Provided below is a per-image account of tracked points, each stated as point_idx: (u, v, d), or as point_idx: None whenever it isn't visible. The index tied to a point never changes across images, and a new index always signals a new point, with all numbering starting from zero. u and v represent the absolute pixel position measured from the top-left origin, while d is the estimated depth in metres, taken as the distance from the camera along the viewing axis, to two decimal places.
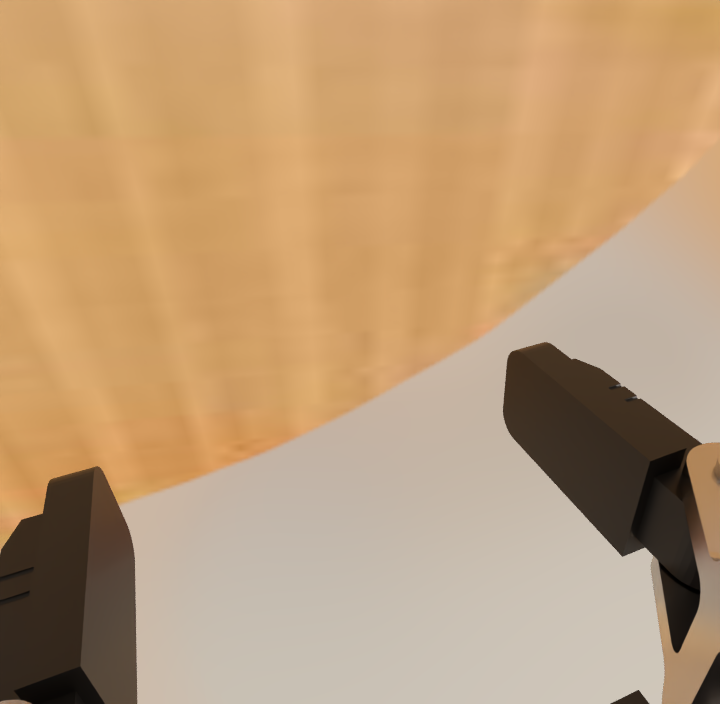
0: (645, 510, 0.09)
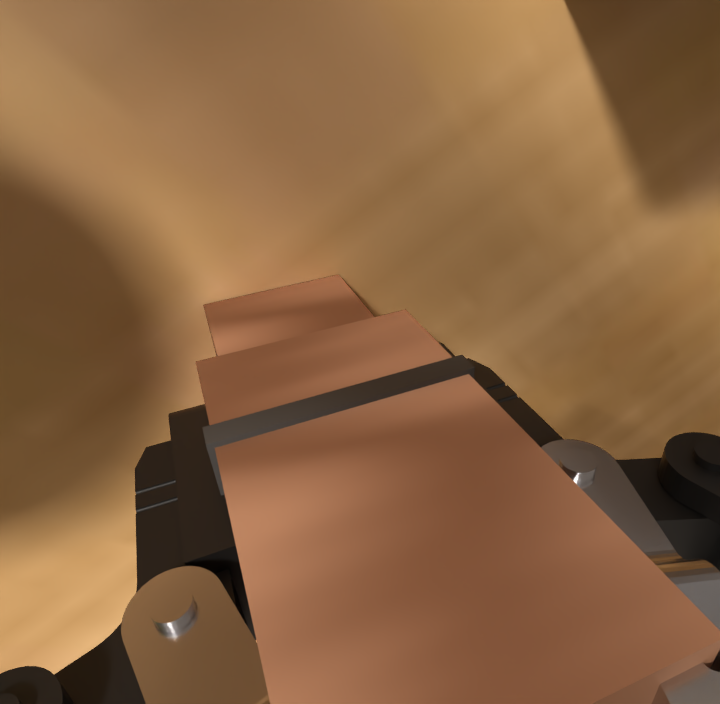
0: None
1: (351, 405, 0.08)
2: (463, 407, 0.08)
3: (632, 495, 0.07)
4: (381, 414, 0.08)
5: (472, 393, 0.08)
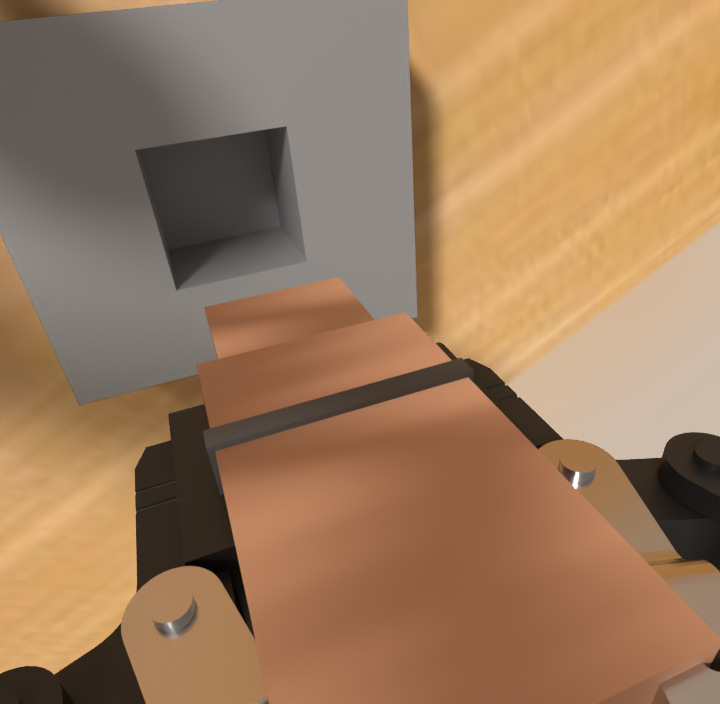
0: None
1: (351, 408, 0.08)
2: (462, 410, 0.08)
3: (632, 495, 0.07)
4: (381, 417, 0.08)
5: (471, 396, 0.08)
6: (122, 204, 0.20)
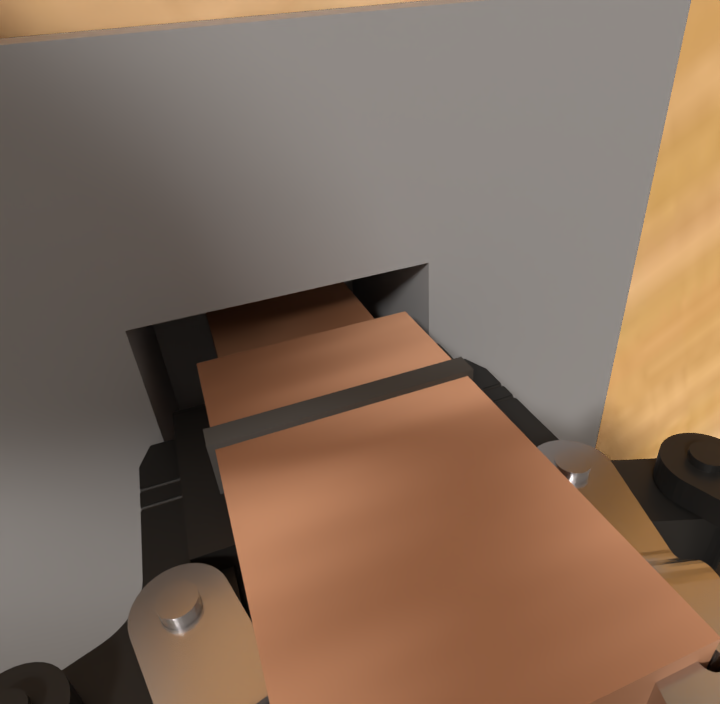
0: None
1: (351, 407, 0.08)
2: (462, 410, 0.08)
3: (627, 496, 0.07)
4: (380, 416, 0.08)
5: (471, 395, 0.08)
6: (98, 429, 0.10)
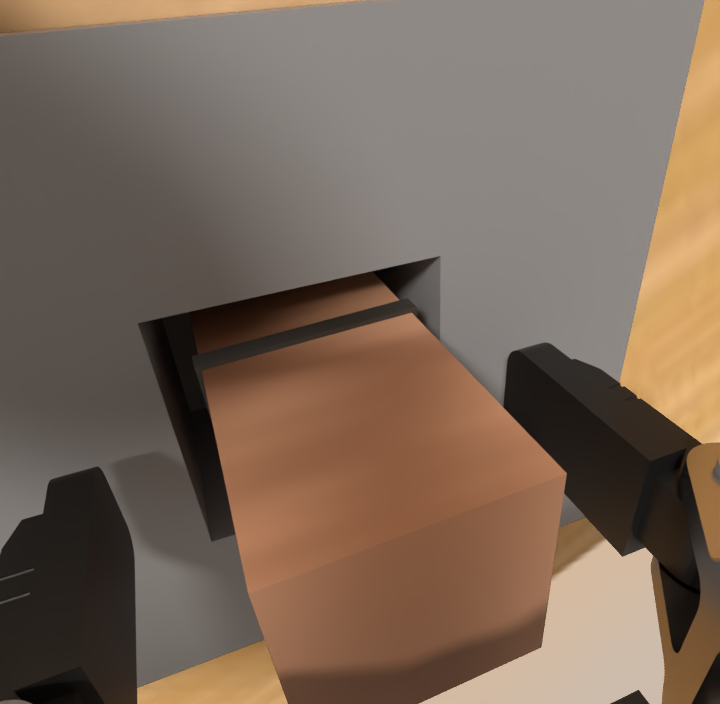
0: (645, 510, 0.09)
1: (312, 337, 0.10)
2: (402, 336, 0.10)
3: None
4: (336, 343, 0.10)
5: (412, 326, 0.10)
6: (110, 422, 0.10)
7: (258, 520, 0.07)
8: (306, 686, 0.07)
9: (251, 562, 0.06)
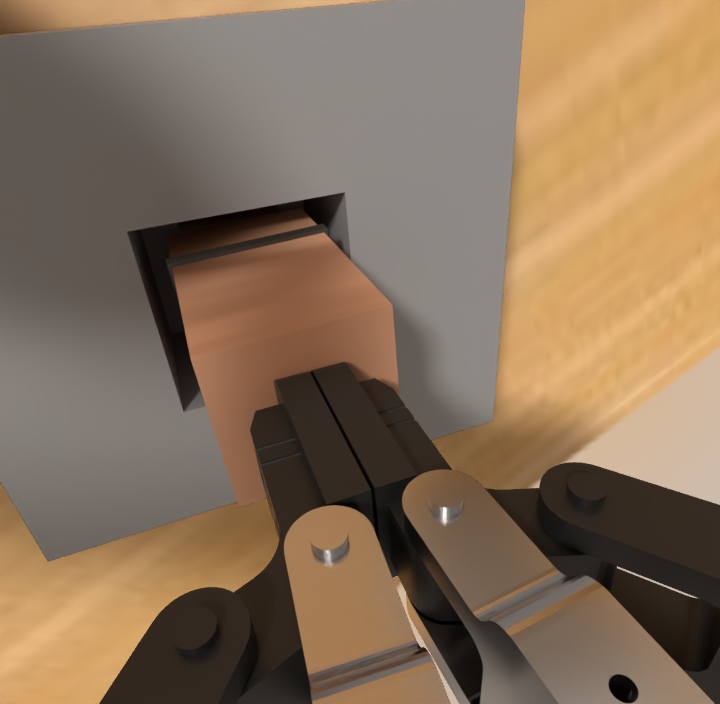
0: (390, 535, 0.09)
1: (251, 247, 0.14)
2: (313, 245, 0.14)
3: (494, 532, 0.07)
4: (267, 250, 0.14)
5: (322, 239, 0.14)
6: (108, 306, 0.14)
7: (201, 332, 0.11)
8: (234, 444, 0.11)
9: (194, 348, 0.10)
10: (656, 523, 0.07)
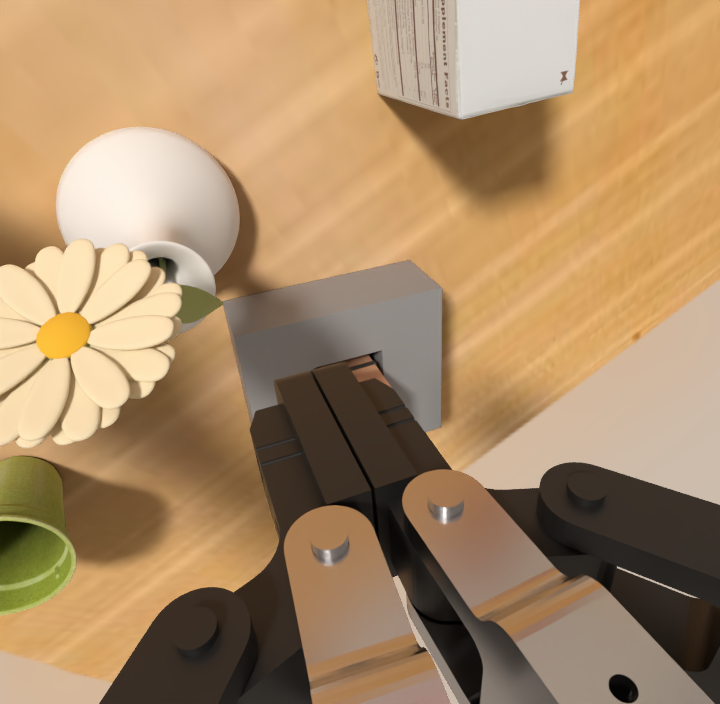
0: (390, 535, 0.09)
1: (351, 370, 0.43)
2: (372, 370, 0.42)
3: (493, 532, 0.07)
4: (356, 372, 0.42)
5: (374, 367, 0.43)
6: None
7: None
8: None
9: None
10: (656, 523, 0.07)
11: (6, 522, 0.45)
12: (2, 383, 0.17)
